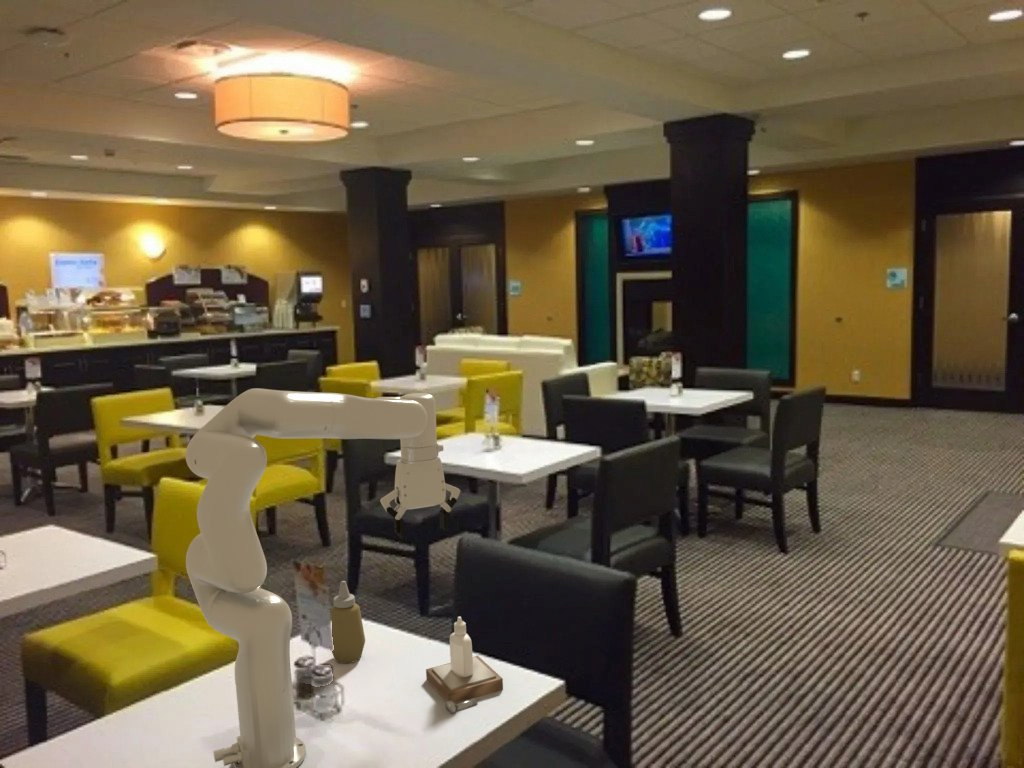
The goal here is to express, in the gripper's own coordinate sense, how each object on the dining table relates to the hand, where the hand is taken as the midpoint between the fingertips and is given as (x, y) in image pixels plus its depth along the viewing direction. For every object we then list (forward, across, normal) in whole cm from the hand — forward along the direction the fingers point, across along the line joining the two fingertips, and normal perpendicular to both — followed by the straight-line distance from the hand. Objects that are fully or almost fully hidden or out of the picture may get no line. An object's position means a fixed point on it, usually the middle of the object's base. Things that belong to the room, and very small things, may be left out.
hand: (422, 532), depth 181 cm
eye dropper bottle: (+28, -4, +9) cm, 30 cm away
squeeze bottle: (+32, +13, -16) cm, 38 cm away
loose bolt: (+32, -1, +17) cm, 36 cm away
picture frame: (+31, -5, +9) cm, 33 cm away
